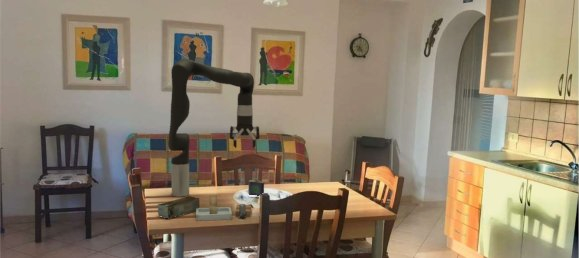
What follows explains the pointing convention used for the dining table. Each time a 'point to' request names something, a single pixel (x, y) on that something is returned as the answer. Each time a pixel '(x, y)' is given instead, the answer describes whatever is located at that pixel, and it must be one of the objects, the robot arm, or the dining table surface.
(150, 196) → the dining table surface
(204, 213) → the tray
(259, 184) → the flask
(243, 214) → the stop post
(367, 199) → the dining table surface
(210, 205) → the tan cylinder
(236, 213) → the tan flat block
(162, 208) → the beverage carton
